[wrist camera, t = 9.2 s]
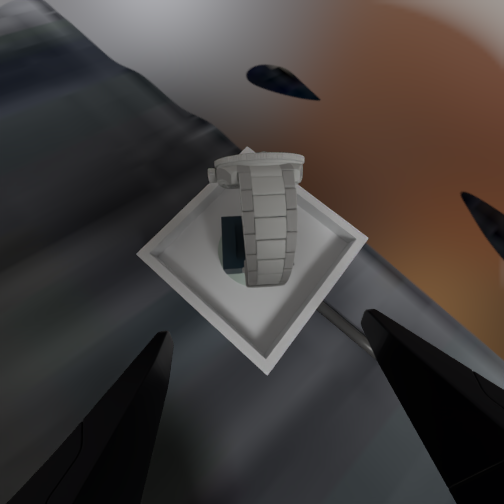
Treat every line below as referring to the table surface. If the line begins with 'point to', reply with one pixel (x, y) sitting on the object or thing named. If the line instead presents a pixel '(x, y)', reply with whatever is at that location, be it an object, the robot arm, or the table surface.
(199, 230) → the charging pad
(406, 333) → the robot arm
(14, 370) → the table surface
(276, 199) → the watch
